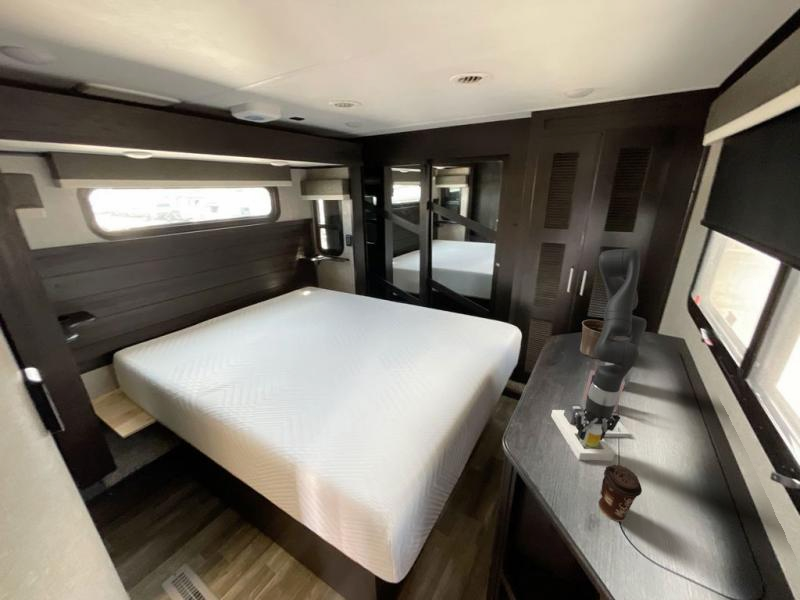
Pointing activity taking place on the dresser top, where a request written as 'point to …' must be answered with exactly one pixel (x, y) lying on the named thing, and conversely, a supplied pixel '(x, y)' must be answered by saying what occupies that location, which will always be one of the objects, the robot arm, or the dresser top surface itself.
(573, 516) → the dresser top surface
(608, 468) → the coffee cup
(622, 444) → the dresser top surface
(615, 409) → the greeting card
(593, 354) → the plant pot
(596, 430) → the supplement bottle
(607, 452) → the white holder base
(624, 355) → the robot arm
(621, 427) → the tray
